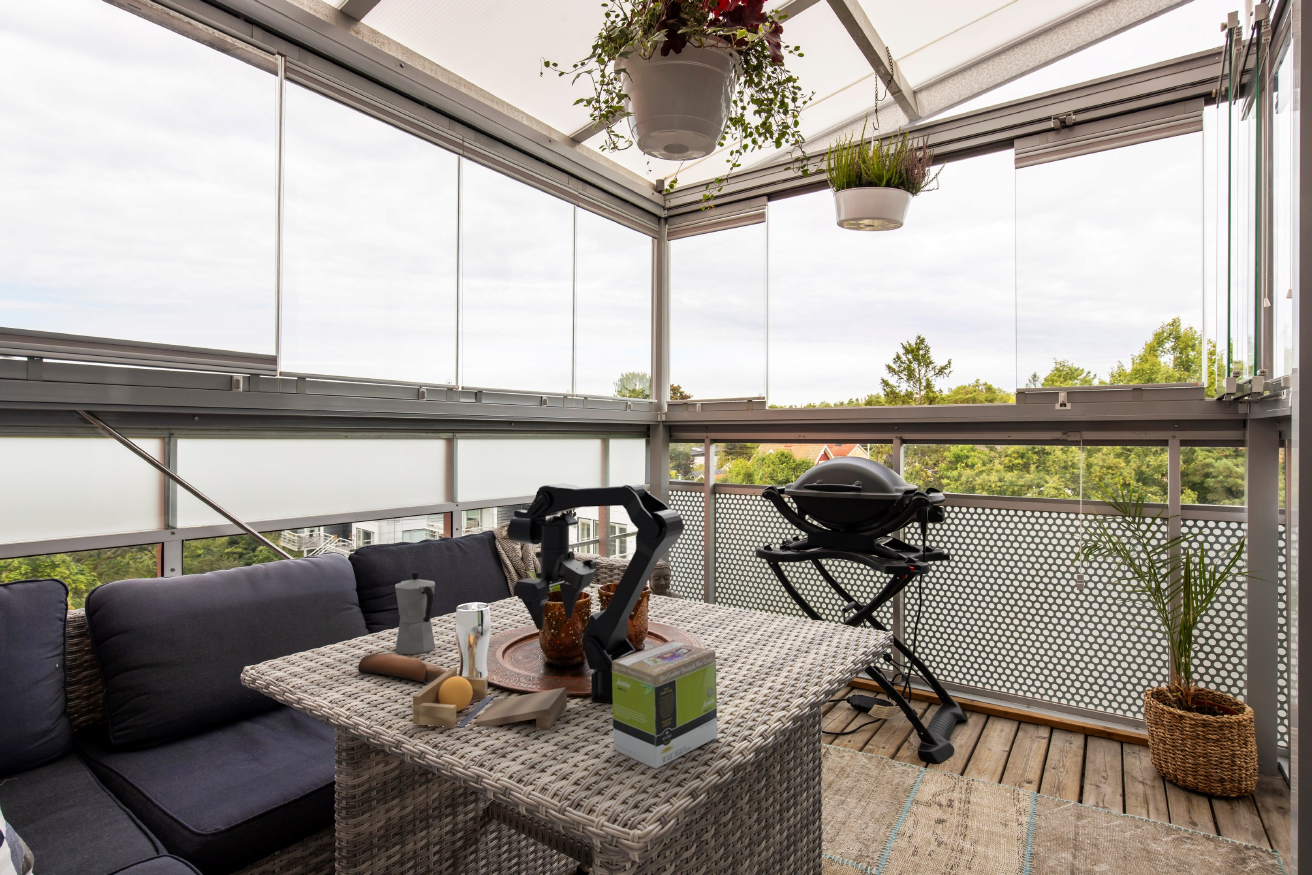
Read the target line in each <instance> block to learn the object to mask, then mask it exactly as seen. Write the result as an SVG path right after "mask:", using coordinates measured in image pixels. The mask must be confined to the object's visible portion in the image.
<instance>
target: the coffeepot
mask: <svg viewBox="0 0 1312 875" xmlns="http://www.w3.org/2000/svg"><path fill="white" fill-rule="evenodd" d="M411 576H412V579H407V580H403V581H402V580H401V581H400V582H398V583H396V584H395V585H394V586H395V588H394V589H395V594H396V595H395V596H396V601H397V602H396V603H397V608H398V609H397V610H398V615H399V624H398V625H399V626H398V630H397V638H396V644H395V653H398V654H399V655H400V654H401V655H417V654H419V655H420V654H424V653H428V652H430V651H433V650H434V649H436V645H435V638H434V632H433V626H432V619H431V615H432V610H433V604H434V600H435V599H434V598H435V588H436V583H435V581H434V580H428V579H427V580H426V579H421V578H419V571H417V570H416V571H412V572H411Z"/></svg>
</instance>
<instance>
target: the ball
mask: <svg viewBox="0 0 1312 875" xmlns="http://www.w3.org/2000/svg"><path fill="white" fill-rule="evenodd" d="M472 694H473V691H472V686H471V684H470V683H469V681H468V680H466V679H465V678H463V677H459V676H458V675H457V676H455V677H451V678H449V679H447V680H446V681H445V682H444V683H443V684H442V685H441V687H440V689H439V693H438V698H439V702H440V704H448V705H456V712H460V711H462V710H464V709H465V708H467V706H468V705H469V704H470V703H471V701H472V699H473V698H472Z"/></svg>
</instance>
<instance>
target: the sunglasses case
mask: <svg viewBox="0 0 1312 875" xmlns="http://www.w3.org/2000/svg"><path fill="white" fill-rule="evenodd" d="M357 671H358V672H359V673H370V674H374V673H375V674H382V675H387V676H391V677H399V678H402V679H407V680H411V681H412V680H413V681H417V682H421V683H425V685H429V684H430V683H431V682H433V681H434V680H435V679H437V678H438V677H440V676H441V675H442V674H444V673H445V672H446V671H447V670H445V669H444V668H442V667H440V666H438V665H434V664H432V663H428V662H425V661H424V662H423V661H422V660H421V659H420V658H418V657H413V656H411V655H410V656H406V655H402V654H401V655H400V654H394V653H371V654H366V655H364V656H362V658H361V659H360V660H359V663H358V666H357Z"/></svg>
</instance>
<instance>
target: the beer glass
mask: <svg viewBox="0 0 1312 875" xmlns="http://www.w3.org/2000/svg"><path fill="white" fill-rule="evenodd" d="M490 611H491V610H490V605H489V603H485V602H468V603H463V604H459V605H457V606H456V614H455V625H454V626H455V627H454V628H455V631H454V632H455V639H456V641H455V642H456V646H457V652H458V658H459V670H458V673H457V676H464V677H479V678H485V677H487V676H488V677H489V672H488V664H487V657H488V651H489V645H490V640H491V639H490V638H491V627H492V626H491V625H492V624H491V622H492V621H491V612H490Z"/></svg>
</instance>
